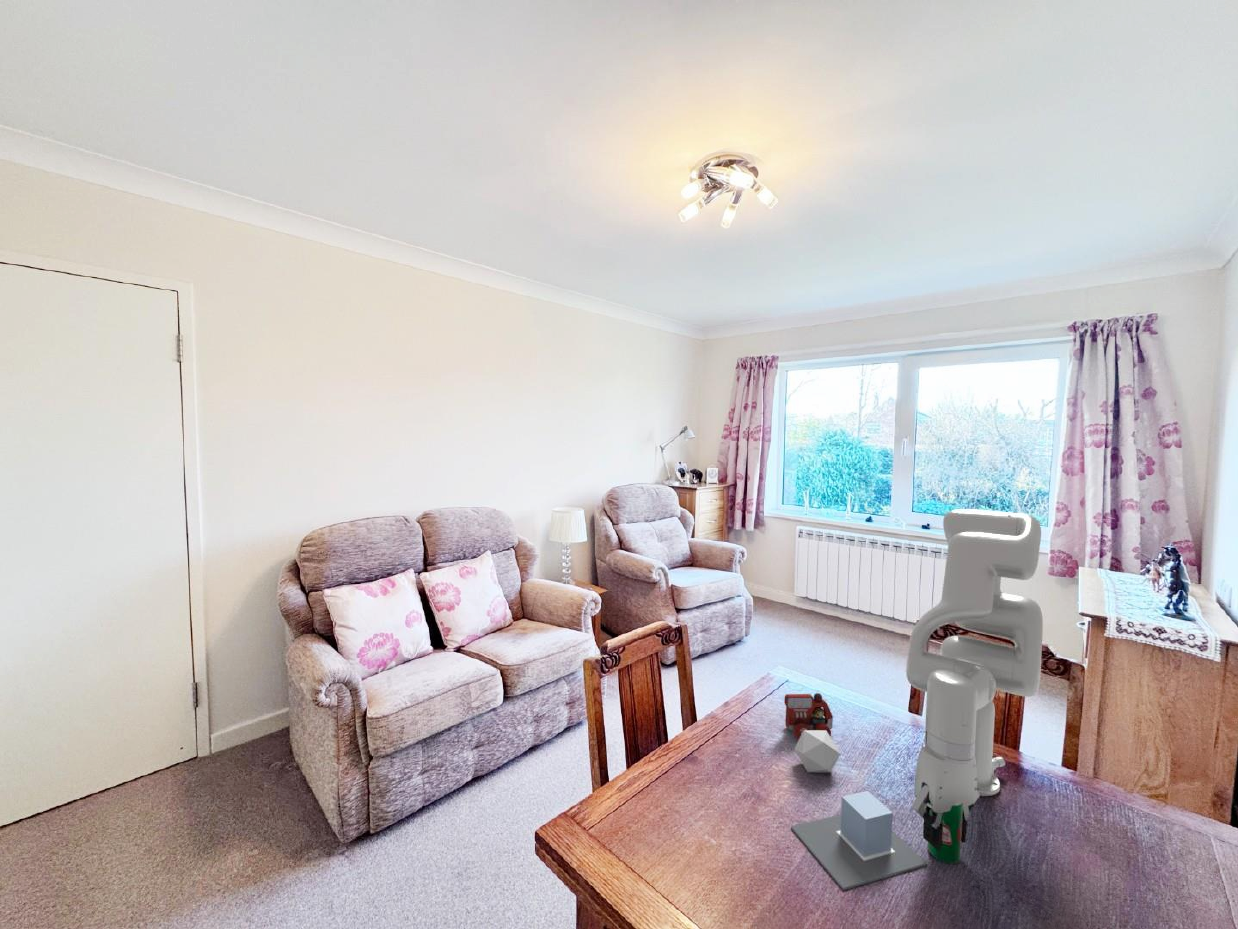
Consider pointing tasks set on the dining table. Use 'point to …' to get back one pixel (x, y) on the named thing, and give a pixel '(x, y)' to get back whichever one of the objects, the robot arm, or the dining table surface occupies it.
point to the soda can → (949, 835)
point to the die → (817, 751)
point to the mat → (854, 854)
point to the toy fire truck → (807, 713)
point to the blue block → (866, 823)
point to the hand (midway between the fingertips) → (944, 839)
